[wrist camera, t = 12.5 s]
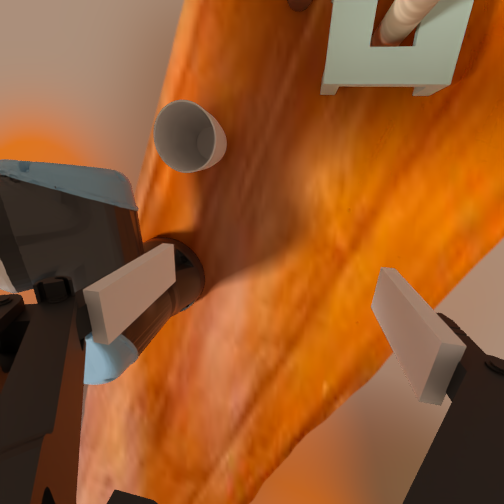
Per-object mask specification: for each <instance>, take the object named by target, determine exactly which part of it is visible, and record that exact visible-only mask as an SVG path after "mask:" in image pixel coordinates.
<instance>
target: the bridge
mask: <svg viewBox="0 0 504 504" xmlns="http://www.w3.org/2000/svg"><path fill="white" fill-rule="evenodd" d="M377 2H378V0H332V3H333V8H332V16H331V24H330V32H329V40H328V48H327V56H326V63H325V69H324V73H323V77H322V83H321V91H320V95H335V93H336V91H337V90H338V88H339V86H351V87H414V91H413V95H412V96H430V95H431V94H433V93H435V92H437V91H439V90H441V89H443V88H445V87H447V86H449V85H450V84H451V81H452V77H453V73H454V70H455V66H456V63H457V59H458V56H459V52H460V48H461V45H462V41H463V38H464V34H465V31H466V27H467V23H468V20H469V16H470V13H471V9H472V6H473V2H474V0H440V1H439V2H438V3H437V4H436V5H435V6H434V7H433V8H432V9H431V11H430V12H429V13H428V14H427V15H426V16H425V17H424V18H423V19H422V20H421V22H420V23H419V24H418V25H417V27H416V32H415V36H414V41H413V45H412V46H397V47H370V42H371V36H372V30H373V25H374V19H375V13H376V8H377Z"/></svg>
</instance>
